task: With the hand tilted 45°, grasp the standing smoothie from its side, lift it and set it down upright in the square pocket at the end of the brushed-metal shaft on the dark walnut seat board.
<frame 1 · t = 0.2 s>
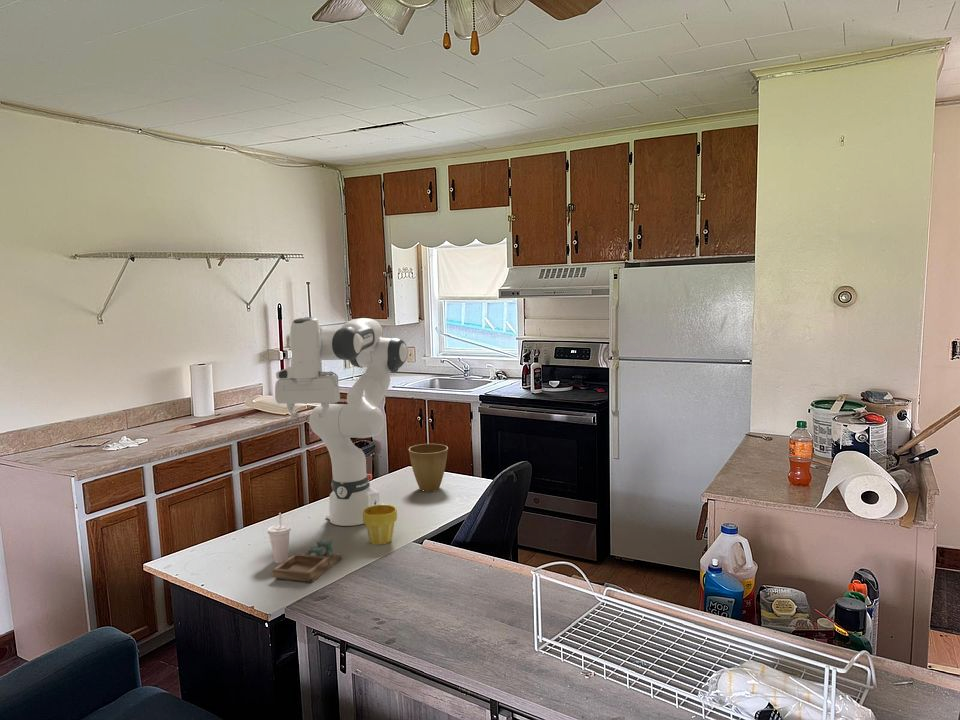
hand: (308, 418, 199), 39 cm above the counter, tool pointing down, fingers open, 8 cm apart
smoothie: (281, 561, 193), on the counter
plant pot: (430, 489, 257), on the counter
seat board: (302, 574, 183), on the counter
plant pot 2: (381, 541, 206), on the counter
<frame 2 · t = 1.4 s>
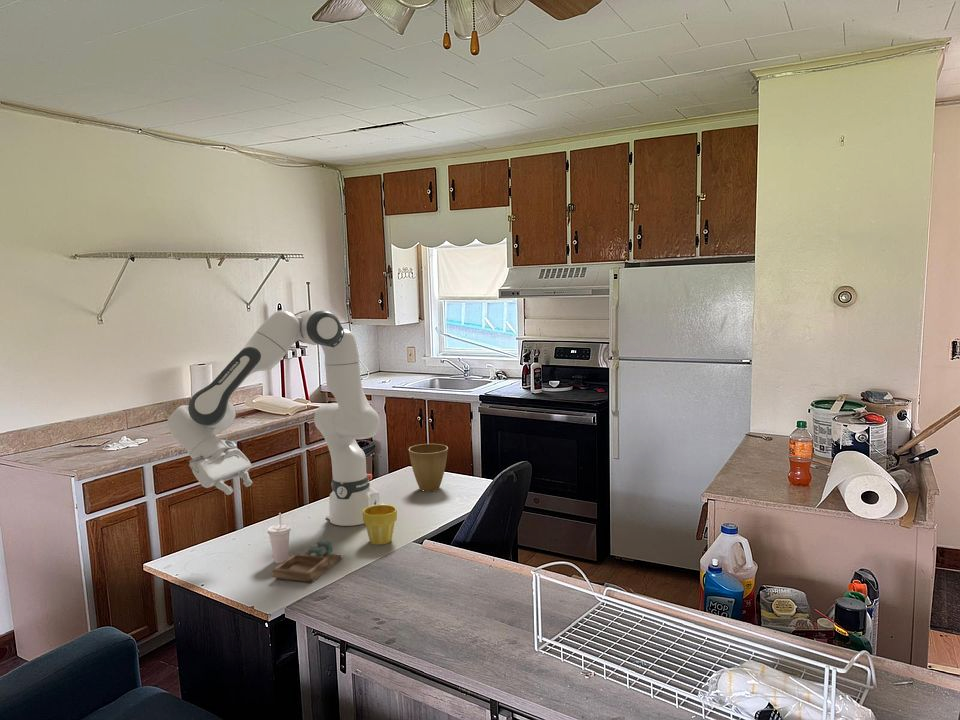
hand: (240, 489, 193), 21 cm above the counter, tool tilted 45°, fingers open, 8 cm apart
nothing on the counter moved.
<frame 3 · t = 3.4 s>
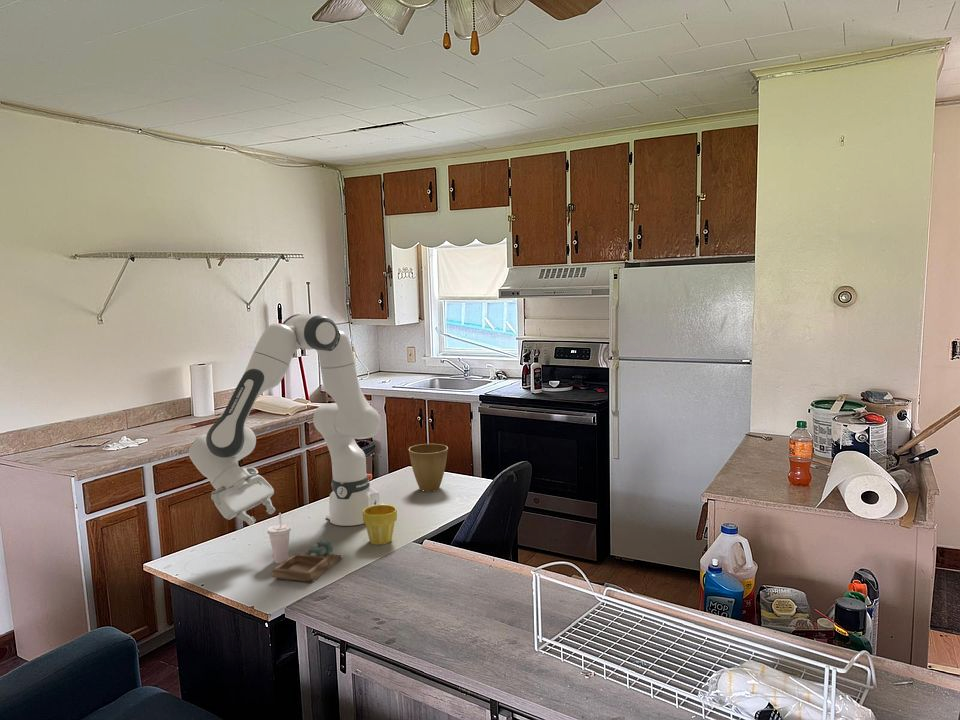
hand: (263, 517, 193), 12 cm above the counter, tool tilted 45°, fingers open, 8 cm apart
nothing on the counter moved.
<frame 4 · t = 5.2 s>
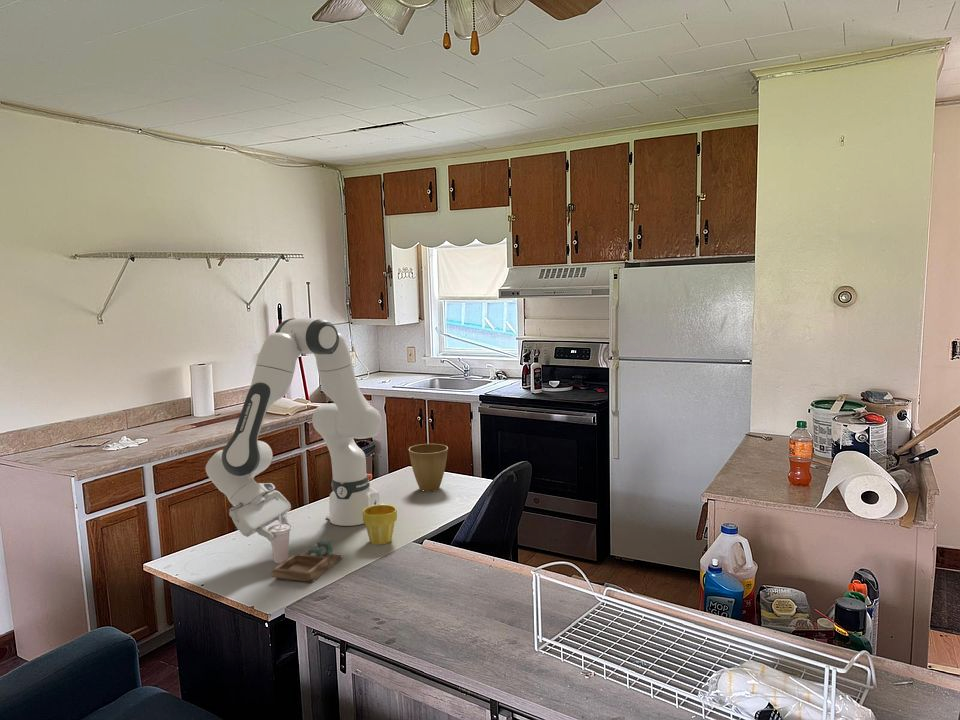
hand: (281, 534, 192), 8 cm above the counter, tool tilted 45°, fingers closed on smoothie, 6 cm apart
smoothie: (281, 561, 193), on the counter, touching gripper
everything else where it was.
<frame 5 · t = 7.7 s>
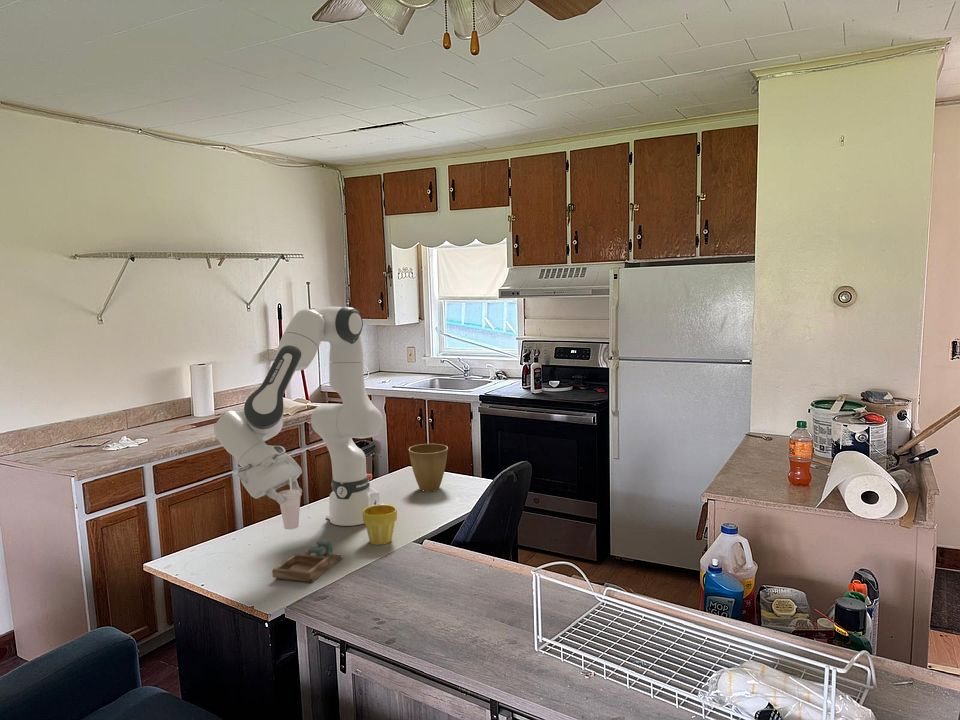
hand: (291, 497, 183), 21 cm above the counter, tool tilted 45°, fingers closed on smoothie, 6 cm apart
smoothie: (291, 527, 184), point 12 cm above the counter, touching gripper
everything else where it was.
when the fingers open (10 cm above the counter, at t = 10.4 s): smoothie stays where it is, resting on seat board.
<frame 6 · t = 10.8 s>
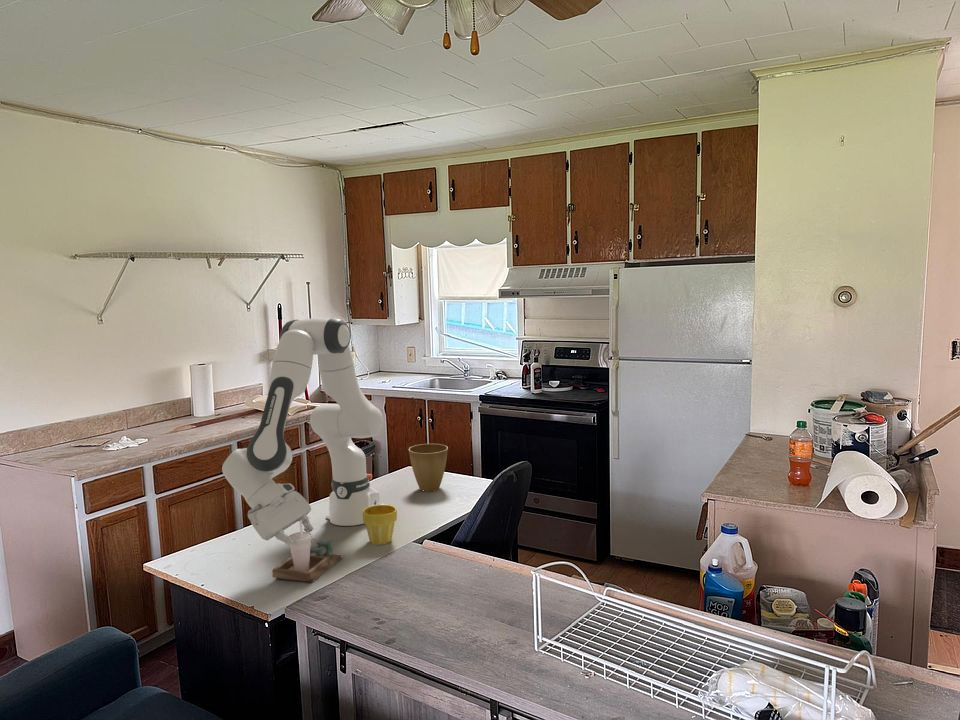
hand: (301, 537, 182), 10 cm above the counter, tool tilted 45°, fingers open, 8 cm apart
smoothie: (302, 571, 183), point 1 cm above the counter, touching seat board
everything else where it was.
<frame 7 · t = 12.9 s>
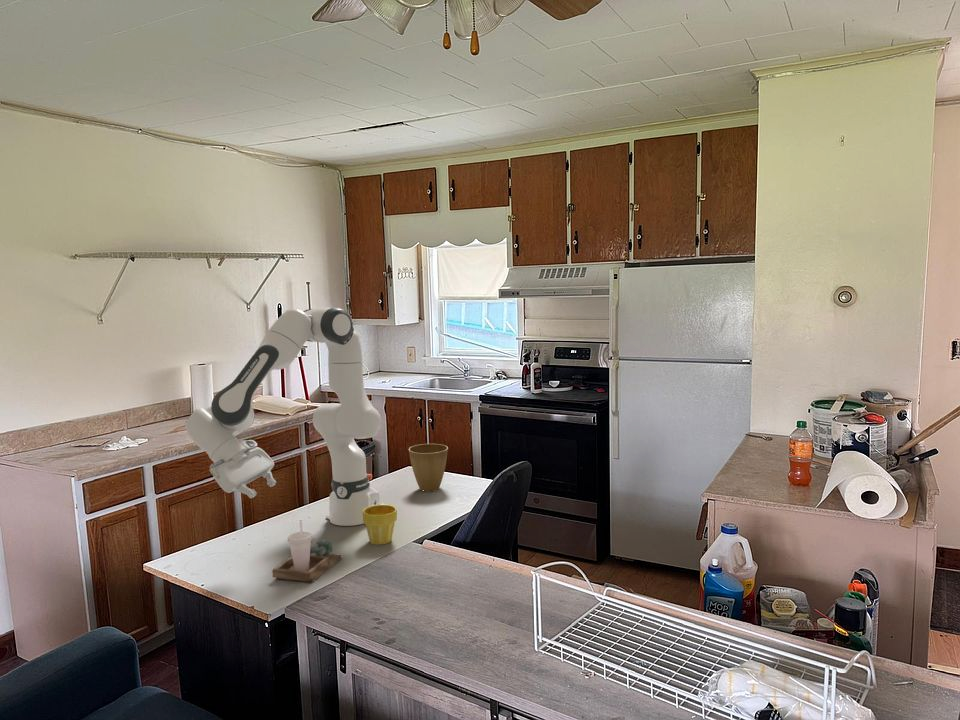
hand: (264, 490, 189), 21 cm above the counter, tool tilted 45°, fingers open, 8 cm apart
nothing on the counter moved.
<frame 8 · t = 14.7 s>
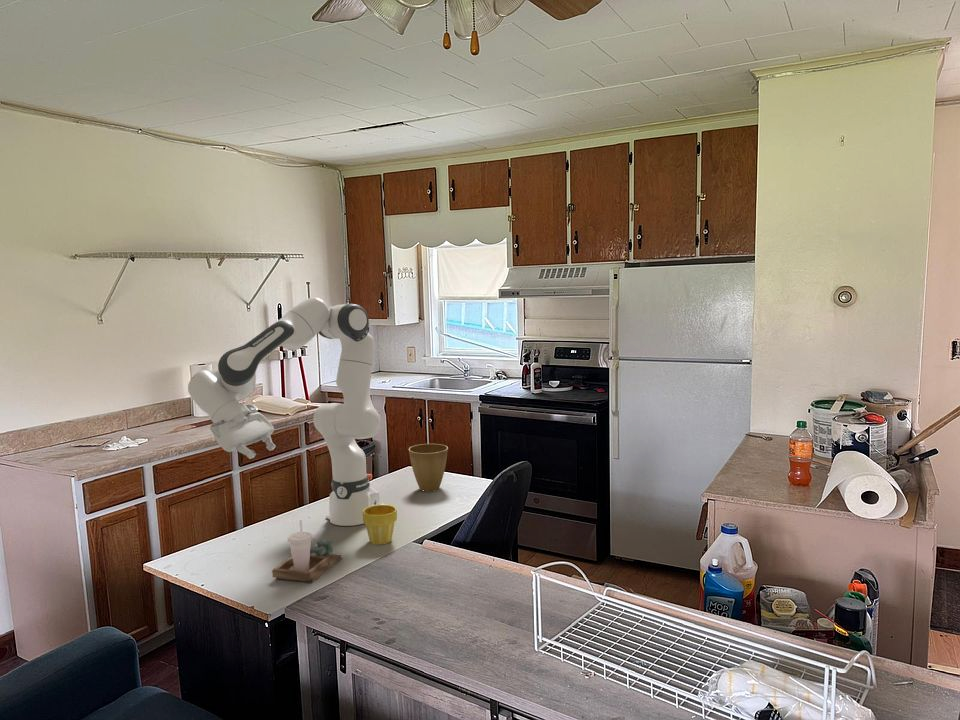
hand: (263, 452, 190), 31 cm above the counter, tool tilted 45°, fingers open, 8 cm apart
nothing on the counter moved.
at the end: smoothie inside the target area on the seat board (0.1 cm from its centre), point 0.8 cm above the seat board's base; smoothie tilted 0°; the gripper is holding nothing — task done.
